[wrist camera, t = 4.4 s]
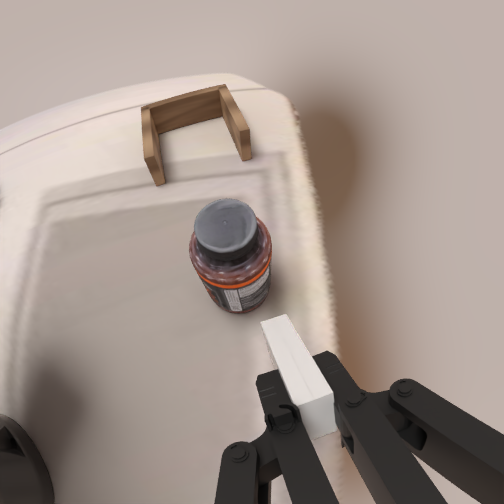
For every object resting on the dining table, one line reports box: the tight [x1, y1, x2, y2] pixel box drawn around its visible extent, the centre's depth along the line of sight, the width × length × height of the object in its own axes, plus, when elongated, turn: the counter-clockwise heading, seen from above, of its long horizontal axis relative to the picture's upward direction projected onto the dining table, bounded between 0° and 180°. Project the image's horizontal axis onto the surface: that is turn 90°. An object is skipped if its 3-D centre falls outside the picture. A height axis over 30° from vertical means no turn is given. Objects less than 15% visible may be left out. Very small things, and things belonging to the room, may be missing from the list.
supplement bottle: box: [189, 199, 272, 313], centre depth 23 cm, size 6×6×11 cm
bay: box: [141, 84, 251, 186], centre depth 35 cm, size 12×12×5 cm
